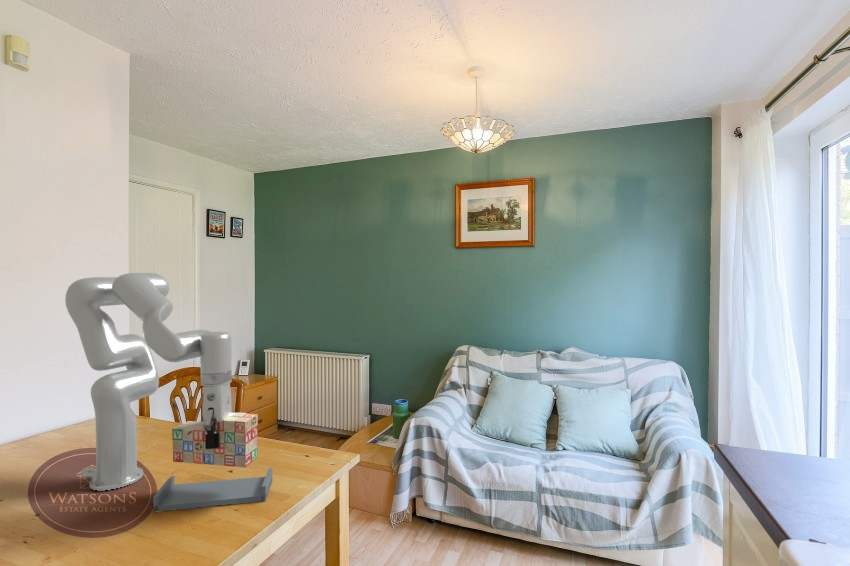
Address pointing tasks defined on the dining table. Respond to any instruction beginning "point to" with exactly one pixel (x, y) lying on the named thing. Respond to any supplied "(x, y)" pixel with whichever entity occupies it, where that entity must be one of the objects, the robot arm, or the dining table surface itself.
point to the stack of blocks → (233, 441)
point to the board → (211, 493)
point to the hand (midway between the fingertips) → (217, 441)
